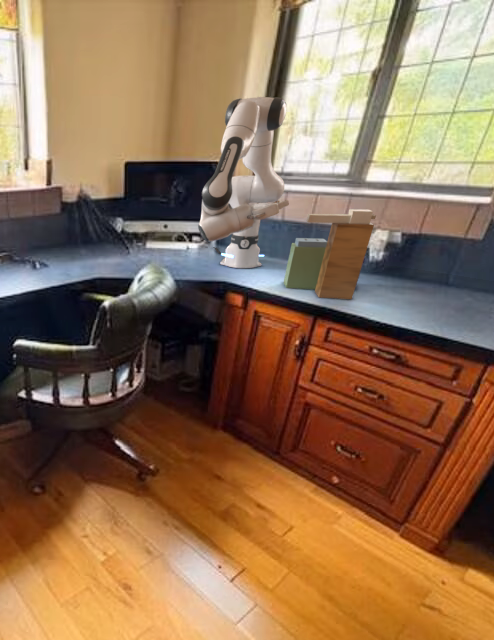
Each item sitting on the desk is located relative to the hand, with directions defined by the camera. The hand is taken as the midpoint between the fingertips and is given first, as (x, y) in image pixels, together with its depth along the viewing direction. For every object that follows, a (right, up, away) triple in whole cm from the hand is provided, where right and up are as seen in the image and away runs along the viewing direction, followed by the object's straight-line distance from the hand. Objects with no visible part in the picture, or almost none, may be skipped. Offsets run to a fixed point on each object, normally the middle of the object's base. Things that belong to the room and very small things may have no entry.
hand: (283, 202), depth 151 cm
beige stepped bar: (+19, -9, -4) cm, 21 cm away
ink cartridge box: (+35, -26, +18) cm, 47 cm away
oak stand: (+23, -32, +8) cm, 40 cm away
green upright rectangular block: (+16, -26, +19) cm, 36 cm away
